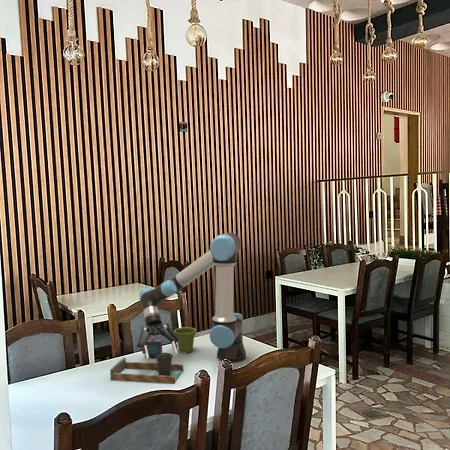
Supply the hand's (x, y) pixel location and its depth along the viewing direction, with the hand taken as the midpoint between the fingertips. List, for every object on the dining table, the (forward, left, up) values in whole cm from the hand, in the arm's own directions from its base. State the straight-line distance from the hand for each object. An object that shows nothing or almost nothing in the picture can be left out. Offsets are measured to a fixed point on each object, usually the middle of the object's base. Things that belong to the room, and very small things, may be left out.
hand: (162, 357), depth 231 cm
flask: (+12, -23, -9) cm, 27 cm away
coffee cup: (-1, +1, -8) cm, 9 cm away
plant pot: (-2, -35, -9) cm, 36 cm away
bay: (+7, +1, -9) cm, 11 cm away
